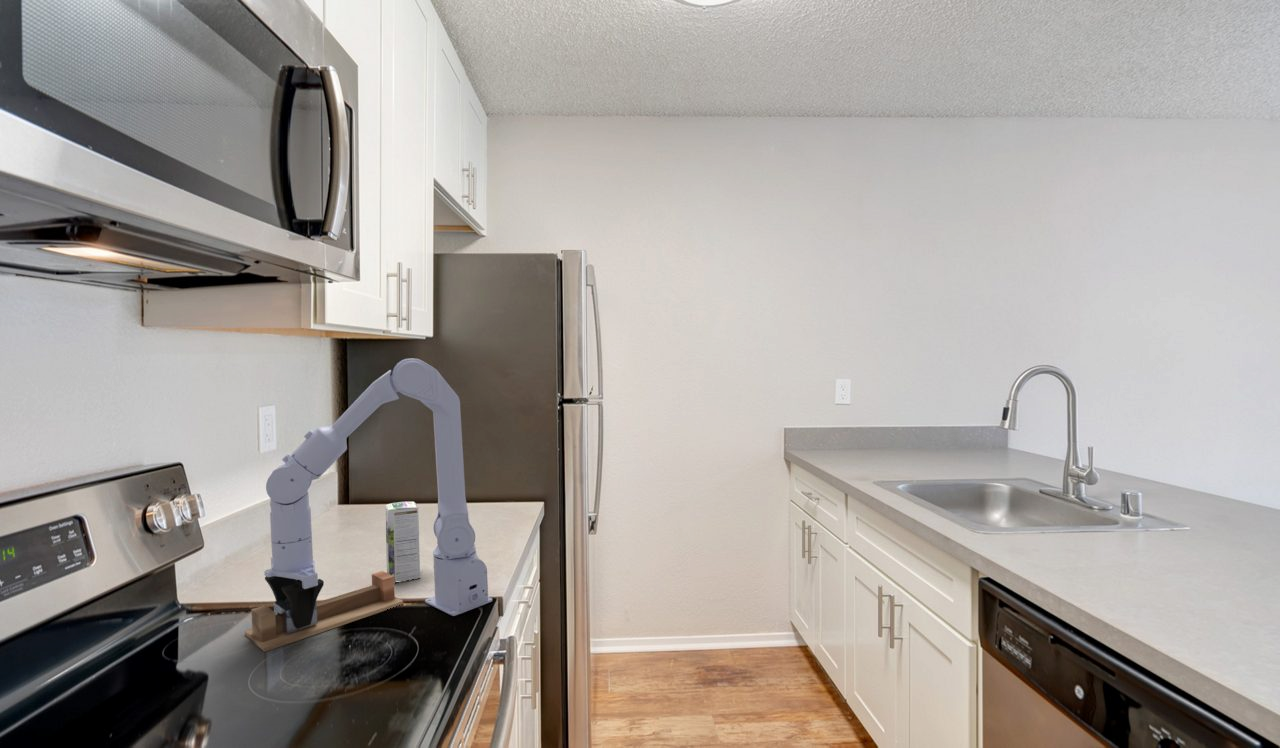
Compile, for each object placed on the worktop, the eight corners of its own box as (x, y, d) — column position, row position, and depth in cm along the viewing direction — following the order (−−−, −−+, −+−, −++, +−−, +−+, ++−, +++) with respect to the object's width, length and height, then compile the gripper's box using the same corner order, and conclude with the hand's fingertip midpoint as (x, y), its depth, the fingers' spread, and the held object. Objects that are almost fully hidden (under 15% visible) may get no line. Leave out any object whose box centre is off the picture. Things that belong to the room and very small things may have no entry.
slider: (317, 623, 100) (316, 601, 100) (287, 633, 96) (286, 611, 96) (304, 614, 104) (303, 593, 103) (274, 623, 100) (273, 602, 100)
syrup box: (386, 575, 123) (383, 503, 123) (417, 569, 126) (414, 499, 126) (389, 584, 118) (386, 510, 118) (421, 578, 121) (419, 505, 120)
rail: (403, 604, 109) (402, 578, 109) (264, 652, 93) (263, 621, 92) (379, 591, 115) (378, 567, 115) (245, 634, 99) (243, 606, 98)
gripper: (249, 535, 101) (253, 616, 102) (280, 553, 92) (285, 643, 92) (295, 525, 106) (299, 603, 107) (330, 542, 97) (333, 626, 97)
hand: (295, 620), depth 100 cm, fingers closed on slider, 6 cm apart
